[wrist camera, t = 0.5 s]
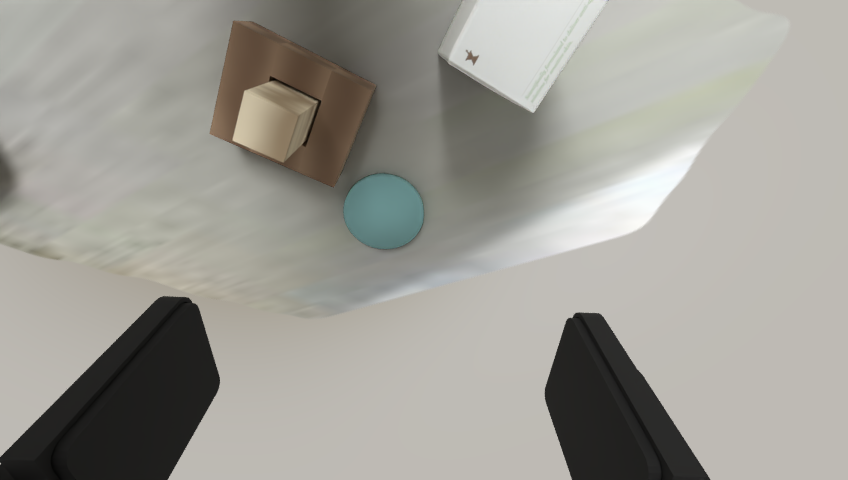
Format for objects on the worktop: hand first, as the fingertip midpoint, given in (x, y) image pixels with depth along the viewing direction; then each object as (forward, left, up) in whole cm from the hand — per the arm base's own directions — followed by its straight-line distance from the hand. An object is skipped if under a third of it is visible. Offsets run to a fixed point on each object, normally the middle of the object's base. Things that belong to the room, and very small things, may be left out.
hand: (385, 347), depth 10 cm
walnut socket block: (-10, -4, -32) cm, 34 cm away
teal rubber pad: (+2, -11, -32) cm, 34 cm away
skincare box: (+3, +10, -32) cm, 34 cm away
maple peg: (-10, -4, -32) cm, 34 cm away
